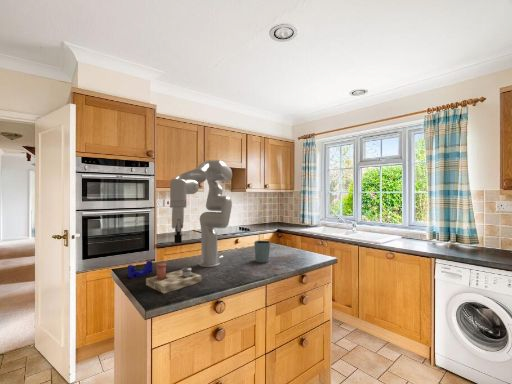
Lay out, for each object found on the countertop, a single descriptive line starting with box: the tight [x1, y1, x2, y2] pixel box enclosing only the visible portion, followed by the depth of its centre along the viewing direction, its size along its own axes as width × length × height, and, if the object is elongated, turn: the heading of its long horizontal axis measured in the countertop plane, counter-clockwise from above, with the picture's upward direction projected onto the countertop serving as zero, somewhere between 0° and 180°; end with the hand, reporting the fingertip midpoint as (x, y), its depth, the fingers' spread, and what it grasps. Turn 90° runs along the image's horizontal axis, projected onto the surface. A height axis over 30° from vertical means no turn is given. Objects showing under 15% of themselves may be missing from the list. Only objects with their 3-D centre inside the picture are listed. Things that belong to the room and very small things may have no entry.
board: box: [145, 269, 202, 294], centre depth 130 cm, size 20×16×3 cm
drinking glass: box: [253, 240, 271, 264], centre depth 171 cm, size 10×10×12 cm
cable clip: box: [127, 260, 153, 279], centre depth 143 cm, size 12×4×6 cm, turn 143°
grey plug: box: [181, 266, 192, 278], centre depth 131 cm, size 5×5×6 cm
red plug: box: [155, 262, 167, 279], centre depth 128 cm, size 5×5×6 cm
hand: (177, 242), depth 130 cm, fingers closed
